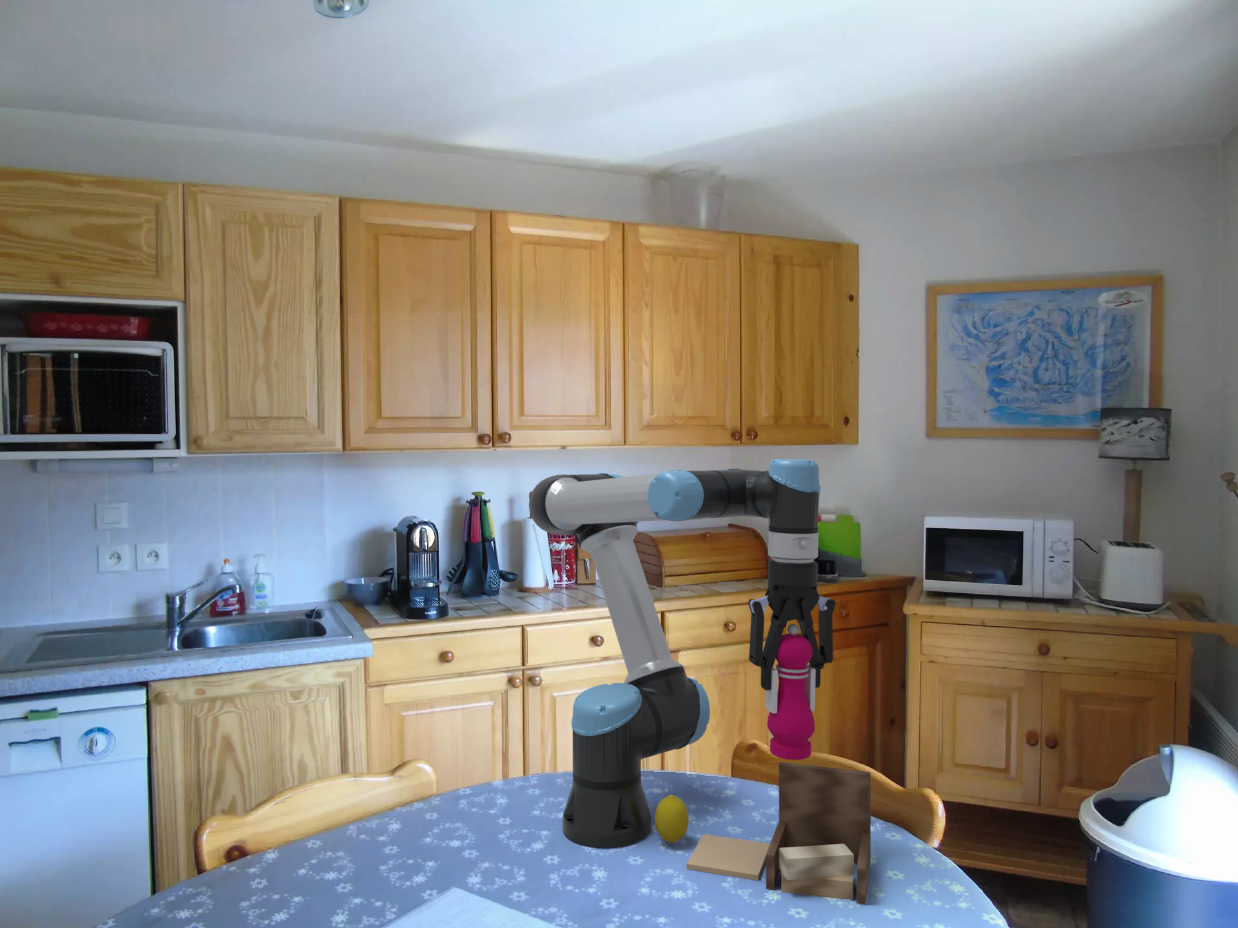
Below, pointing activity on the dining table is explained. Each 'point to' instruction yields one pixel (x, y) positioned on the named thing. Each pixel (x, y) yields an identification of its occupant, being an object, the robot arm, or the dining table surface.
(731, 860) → the cork mat
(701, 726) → the robot arm
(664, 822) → the lemon
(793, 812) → the rack
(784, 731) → the pepper mill
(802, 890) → the offcut bottom
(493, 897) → the dining table surface
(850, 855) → the offcut top
